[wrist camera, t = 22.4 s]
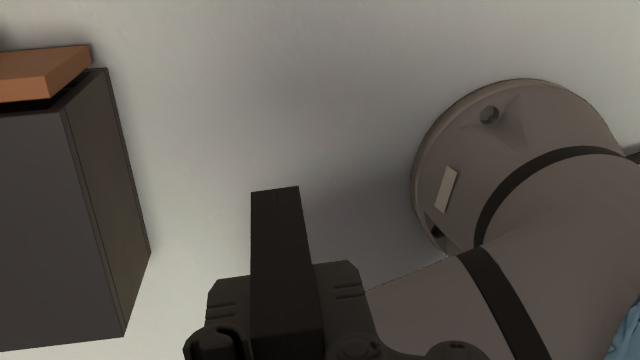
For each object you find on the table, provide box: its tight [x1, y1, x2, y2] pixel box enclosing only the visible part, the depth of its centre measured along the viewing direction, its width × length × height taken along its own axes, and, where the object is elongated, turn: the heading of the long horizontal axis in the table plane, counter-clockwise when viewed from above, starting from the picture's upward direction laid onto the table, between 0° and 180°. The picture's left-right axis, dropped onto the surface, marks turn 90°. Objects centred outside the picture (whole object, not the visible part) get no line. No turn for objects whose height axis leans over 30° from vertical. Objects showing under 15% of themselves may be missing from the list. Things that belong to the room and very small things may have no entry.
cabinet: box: [0, 68, 151, 352], centre depth 34 cm, size 15×13×10 cm
